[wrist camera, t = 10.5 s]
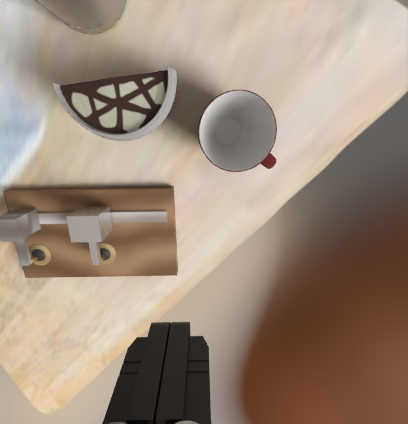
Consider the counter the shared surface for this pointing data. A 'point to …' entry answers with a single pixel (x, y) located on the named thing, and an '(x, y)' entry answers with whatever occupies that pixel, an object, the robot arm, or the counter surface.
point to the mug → (238, 131)
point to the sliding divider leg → (90, 228)
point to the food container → (121, 103)
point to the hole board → (80, 251)
